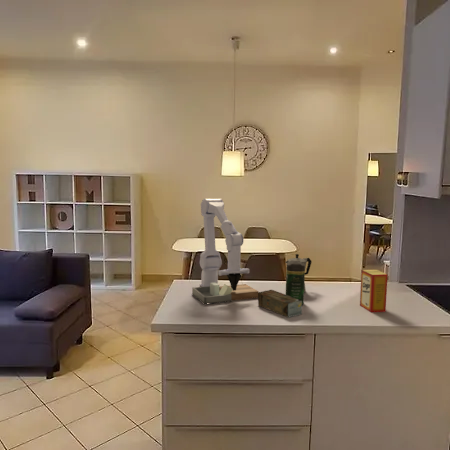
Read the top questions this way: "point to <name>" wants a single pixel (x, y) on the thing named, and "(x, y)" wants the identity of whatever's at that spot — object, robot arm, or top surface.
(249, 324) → the top surface
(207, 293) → the tray
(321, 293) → the top surface
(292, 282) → the coffee jar
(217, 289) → the tile
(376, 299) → the baking soda box
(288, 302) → the beverage carton
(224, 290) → the tile
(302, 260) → the coffeepot
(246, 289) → the walnut board
